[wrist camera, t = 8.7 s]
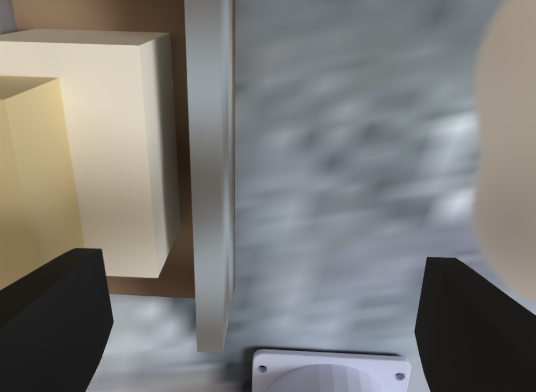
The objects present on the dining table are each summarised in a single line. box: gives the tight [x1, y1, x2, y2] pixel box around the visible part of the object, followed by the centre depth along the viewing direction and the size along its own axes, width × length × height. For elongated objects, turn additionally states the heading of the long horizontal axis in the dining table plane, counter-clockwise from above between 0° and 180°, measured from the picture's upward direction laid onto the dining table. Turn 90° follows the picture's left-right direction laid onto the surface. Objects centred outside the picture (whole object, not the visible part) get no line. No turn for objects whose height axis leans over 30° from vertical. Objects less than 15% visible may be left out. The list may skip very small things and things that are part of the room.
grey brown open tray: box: [0, 0, 235, 353], centre depth 18 cm, size 15×12×4 cm
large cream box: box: [0, 29, 181, 290], centre depth 16 cm, size 8×5×7 cm, turn 179°
